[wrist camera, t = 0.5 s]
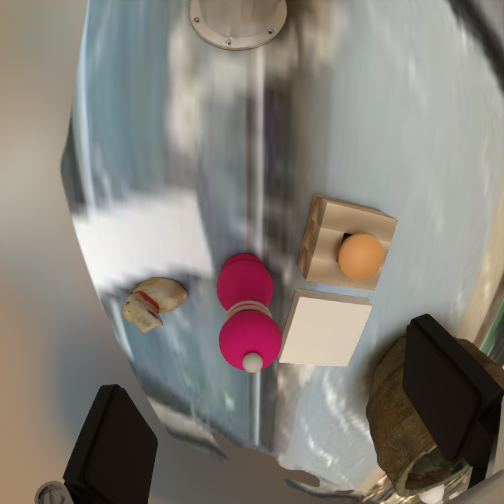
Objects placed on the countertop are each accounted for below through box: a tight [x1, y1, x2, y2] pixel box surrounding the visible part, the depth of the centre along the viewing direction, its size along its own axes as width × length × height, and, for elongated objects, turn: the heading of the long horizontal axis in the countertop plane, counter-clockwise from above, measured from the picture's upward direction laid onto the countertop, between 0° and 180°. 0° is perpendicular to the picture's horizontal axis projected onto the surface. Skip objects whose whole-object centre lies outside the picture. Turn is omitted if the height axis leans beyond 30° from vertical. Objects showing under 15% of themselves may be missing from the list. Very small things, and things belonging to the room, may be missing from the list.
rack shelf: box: [278, 289, 373, 366], centre depth 46 cm, size 12×12×2 cm
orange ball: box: [338, 233, 384, 281], centre depth 37 cm, size 6×6×7 cm
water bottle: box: [418, 484, 459, 504], centre depth 51 cm, size 9×6×25 cm
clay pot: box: [366, 337, 504, 497], centre depth 41 cm, size 25×25×25 cm
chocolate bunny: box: [122, 278, 188, 333], centre depth 39 cm, size 6×8×10 cm
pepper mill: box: [217, 254, 282, 373], centre depth 34 cm, size 7×7×20 cm
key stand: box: [297, 194, 398, 291], centre depth 40 cm, size 10×10×6 cm
